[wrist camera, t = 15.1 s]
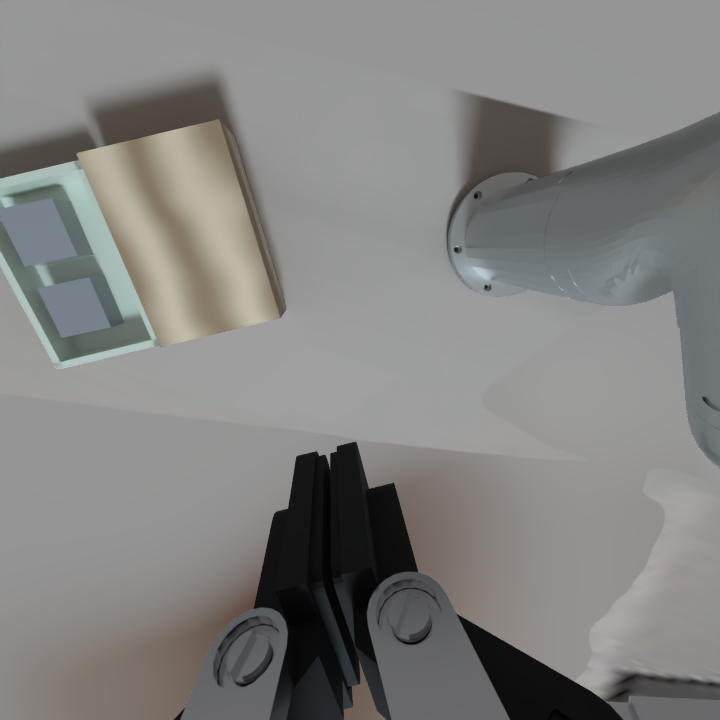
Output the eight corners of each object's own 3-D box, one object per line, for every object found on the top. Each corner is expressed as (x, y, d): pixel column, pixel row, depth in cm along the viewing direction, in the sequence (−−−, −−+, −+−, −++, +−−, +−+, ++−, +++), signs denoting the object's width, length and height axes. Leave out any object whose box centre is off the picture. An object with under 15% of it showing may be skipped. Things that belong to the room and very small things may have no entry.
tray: (105, 167, 33) (81, 159, 30) (175, 336, 39) (161, 344, 35) (-6, 194, 33) (-43, 188, 30) (80, 359, 39) (57, 370, 35)
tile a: (37, 288, 33) (55, 285, 36) (61, 338, 35) (78, 332, 37) (89, 277, 33) (104, 275, 36) (111, 327, 35) (124, 322, 37)
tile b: (-4, 209, 31) (18, 212, 33) (24, 266, 33) (44, 265, 35) (52, 197, 31) (70, 201, 33) (77, 255, 33) (93, 254, 35)
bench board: (234, 136, 33) (219, 119, 29) (286, 309, 39) (280, 318, 34) (112, 166, 33) (75, 153, 29) (181, 334, 39) (160, 347, 34)
